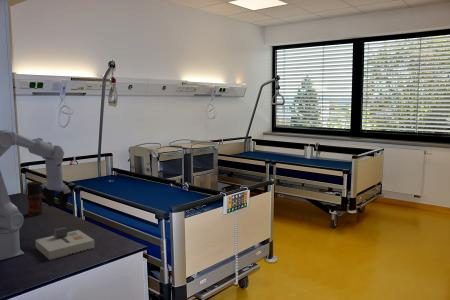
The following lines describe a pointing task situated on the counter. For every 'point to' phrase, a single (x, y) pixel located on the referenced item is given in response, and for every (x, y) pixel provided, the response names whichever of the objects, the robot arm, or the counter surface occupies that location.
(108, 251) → the counter surface
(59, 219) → the counter surface
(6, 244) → the robot arm
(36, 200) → the deodorant
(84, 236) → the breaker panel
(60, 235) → the handle
